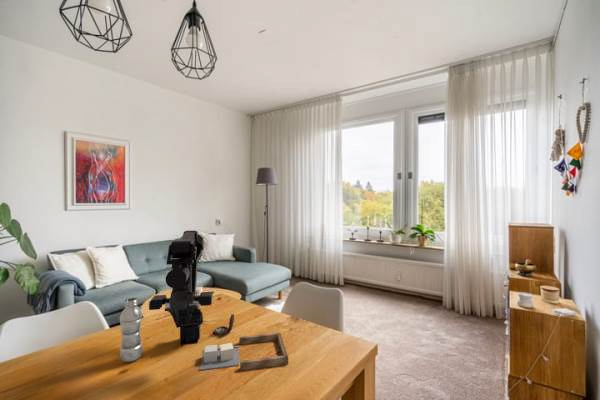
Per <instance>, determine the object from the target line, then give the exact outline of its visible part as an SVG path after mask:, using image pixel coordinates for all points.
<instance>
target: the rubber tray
mask: <svg viewBox="0 0 600 400" xmlns="http://www.w3.org/2000/svg"><path fill="white" fill-rule="evenodd" d="M232 346H233V359H230V360H225V361H221V359H220V347H218V356H217V361H216V362H208V363H204V351H205V348H204V349H203V350H202V351H203V353H202V357H201V361H200V367H199V371H207V370H215V369H224V368H231V367H238V366H239V367H240V359H239V358H240V357H239V353H240V352H239V345H232Z"/></svg>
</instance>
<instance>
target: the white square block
mask: <svg viewBox="0 0 600 400" xmlns="http://www.w3.org/2000/svg"><path fill="white" fill-rule="evenodd" d="M233 346H234V345H233V343H232V342H228V343H222V344H219V348H220V359H221V361H225V360H230V359H233Z"/></svg>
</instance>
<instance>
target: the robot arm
mask: <svg viewBox="0 0 600 400" xmlns="http://www.w3.org/2000/svg"><path fill="white" fill-rule="evenodd" d="M204 250H205V239H204V237H203V236H202V235H200V234H199V232H198V230H185V231H183V233H182V236H181V237H180V238H179V239H173V240H172V241H171V243H170V244H169V245H168V251H167V255H166V256H167V258H166V265H171V268H170V270H169V271H168V272H167V274H166V276H165V283H166V285H167V287H169V288H171V289H172V290H171V292H170V297H167V295H166V294H161V295H159V294H158V295H157V294H156V295H154V296H153V297H152V298H151V299H150V301H149V302H148V311H153V310H154V311H155V310H161V308H162V307H163V305H164V306H165V308H164V311H165V312H168V313H169V314H170V315H171V317H172V320H173V322H174V324H175V327H176V329H177V328H179V342H178V345H179V346H184V345H185V346H186V345H193V344H194V345H195V344H196V345H197V344H198V343H199V340H200V338H201V325H202V324H204V317H203V312H202V309H201V308H200V306H201V307H206V306H211V305H212V304H213V299H214V297H213V292H212V291H204V292H203V291H202V292H200V293H199V295H197V279H198V266H199V265H198V261H199V260H200V259H201V258H202V256H203V251H204Z"/></svg>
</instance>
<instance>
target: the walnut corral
mask: <svg viewBox="0 0 600 400" xmlns="http://www.w3.org/2000/svg"><path fill="white" fill-rule="evenodd" d="M238 338H239V340H238V342H239V345H249V344H257V343H259V344H260V343H265V342H266V343H267V342H275V341H276V342H277V343H278V346H279V350H280V354H281V355H279V356H277V355H276V356H270V357H260V358H253V359H244V360H239V370H240V371H244V370H245V371H246V370H254V369H261V368H262V369H263V368H269V367H276V366H277V367H278V366H285V365H289V355H288V351H287V349H286V346H285V343H284V340H283V336H282V334H281V332H274V333H265V334H264V333H263V334H254V335H244V336H239V337H238ZM239 345H238V346H239Z"/></svg>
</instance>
